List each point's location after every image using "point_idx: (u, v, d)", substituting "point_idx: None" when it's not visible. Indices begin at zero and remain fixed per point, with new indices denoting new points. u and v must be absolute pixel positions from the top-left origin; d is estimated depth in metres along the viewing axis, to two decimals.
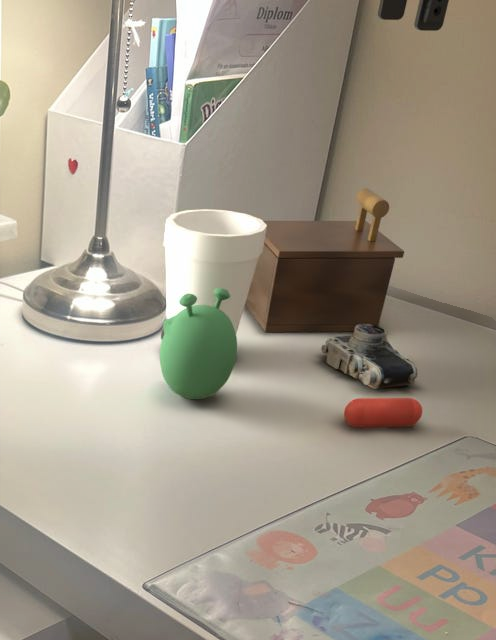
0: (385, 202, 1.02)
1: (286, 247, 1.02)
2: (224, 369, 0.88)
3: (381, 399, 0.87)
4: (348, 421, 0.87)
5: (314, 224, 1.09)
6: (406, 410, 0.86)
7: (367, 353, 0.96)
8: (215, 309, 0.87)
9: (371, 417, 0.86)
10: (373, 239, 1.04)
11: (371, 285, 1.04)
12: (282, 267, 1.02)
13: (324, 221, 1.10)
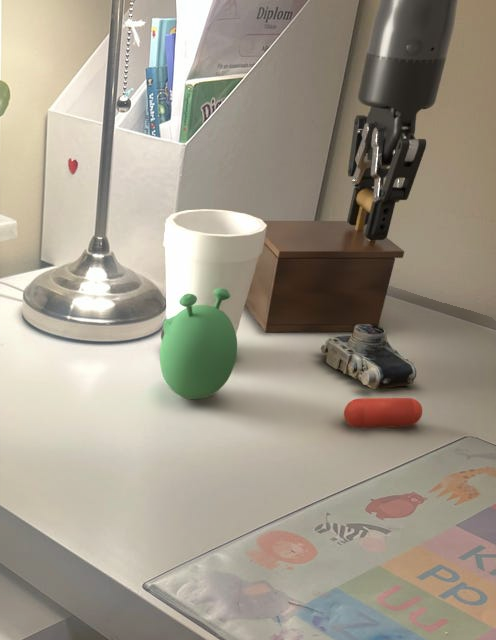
0: None
1: (286, 247, 1.02)
2: (224, 369, 0.88)
3: (381, 399, 0.87)
4: (348, 421, 0.87)
5: (314, 224, 1.09)
6: (406, 410, 0.86)
7: (366, 353, 0.96)
8: (215, 309, 0.87)
9: (371, 417, 0.86)
10: None
11: (371, 285, 1.04)
12: (282, 267, 1.02)
13: (324, 221, 1.10)
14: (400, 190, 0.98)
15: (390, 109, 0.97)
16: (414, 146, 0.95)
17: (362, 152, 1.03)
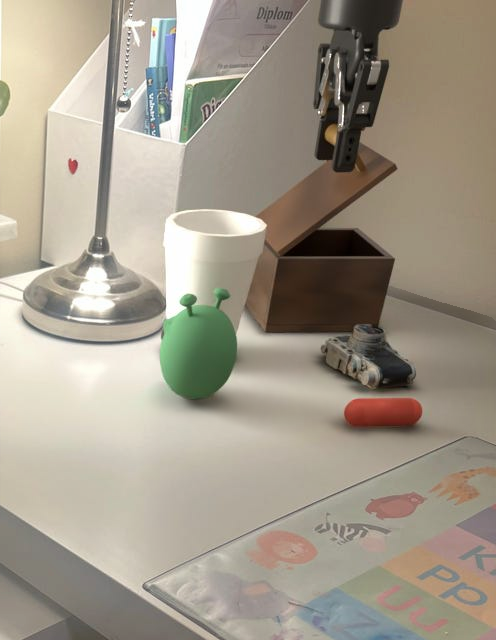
0: None
1: (283, 241, 1.02)
2: (224, 369, 0.88)
3: (381, 399, 0.87)
4: (348, 421, 0.87)
5: (306, 183, 1.07)
6: (406, 410, 0.86)
7: (366, 353, 0.96)
8: (215, 309, 0.87)
9: (371, 417, 0.86)
10: (362, 168, 1.00)
11: (371, 285, 1.04)
12: (282, 267, 1.02)
13: (315, 170, 1.07)
14: (365, 116, 0.94)
15: (351, 31, 0.92)
16: (376, 67, 0.90)
17: (326, 81, 0.98)
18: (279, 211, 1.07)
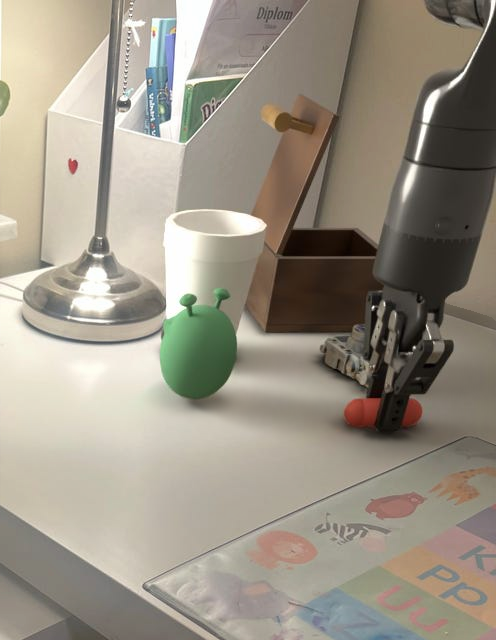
0: (278, 116, 0.96)
1: (276, 238, 1.02)
2: (224, 369, 0.88)
3: None
4: (348, 421, 0.87)
5: (276, 162, 1.05)
6: (406, 410, 0.86)
7: None
8: (215, 309, 0.87)
9: (371, 417, 0.86)
10: (311, 130, 0.97)
11: (371, 285, 1.04)
12: (282, 267, 1.02)
13: (279, 144, 1.05)
14: (417, 384, 0.82)
15: (413, 292, 0.79)
16: (438, 351, 0.77)
17: (379, 333, 0.84)
18: (265, 203, 1.06)
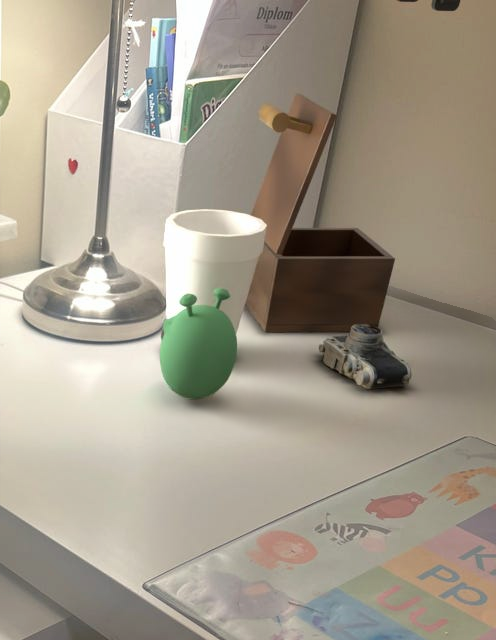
0: (275, 117, 0.96)
1: (276, 239, 1.02)
2: (224, 369, 0.88)
3: None
4: None
5: (275, 161, 1.05)
6: None
7: (362, 353, 0.96)
8: (215, 309, 0.87)
9: None
10: (308, 129, 0.97)
11: (371, 285, 1.04)
12: (282, 267, 1.02)
13: (277, 143, 1.05)
14: None
15: None
16: None
17: None
18: (265, 203, 1.06)
